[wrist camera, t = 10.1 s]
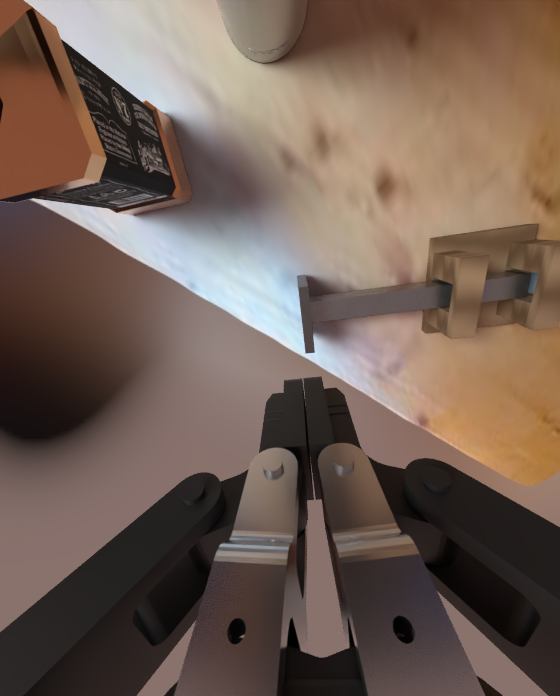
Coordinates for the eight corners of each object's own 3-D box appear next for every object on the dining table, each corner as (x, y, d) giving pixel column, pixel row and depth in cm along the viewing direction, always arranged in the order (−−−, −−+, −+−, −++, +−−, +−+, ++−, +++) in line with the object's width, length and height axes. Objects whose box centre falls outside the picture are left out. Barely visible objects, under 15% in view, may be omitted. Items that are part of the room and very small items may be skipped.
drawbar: (297, 275, 39) (298, 287, 32) (510, 246, 36) (565, 252, 29) (303, 331, 43) (305, 353, 35) (497, 309, 40) (543, 327, 33)
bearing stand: (430, 238, 37) (464, 241, 30) (529, 224, 36) (591, 223, 28) (421, 329, 43) (448, 351, 35) (506, 320, 42) (553, 341, 34)
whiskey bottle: (168, 110, 32) (-959, -948, 3) (194, 200, 36) (-194, 102, 7) (92, 131, 33) (-1235, -499, 4) (126, 216, 37) (-445, 186, 8)
